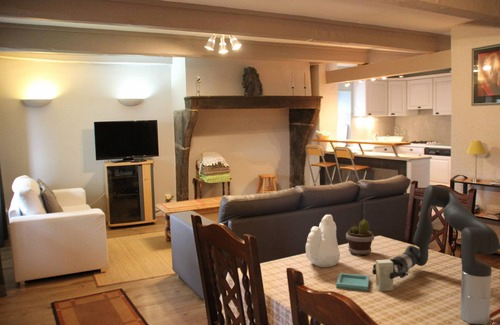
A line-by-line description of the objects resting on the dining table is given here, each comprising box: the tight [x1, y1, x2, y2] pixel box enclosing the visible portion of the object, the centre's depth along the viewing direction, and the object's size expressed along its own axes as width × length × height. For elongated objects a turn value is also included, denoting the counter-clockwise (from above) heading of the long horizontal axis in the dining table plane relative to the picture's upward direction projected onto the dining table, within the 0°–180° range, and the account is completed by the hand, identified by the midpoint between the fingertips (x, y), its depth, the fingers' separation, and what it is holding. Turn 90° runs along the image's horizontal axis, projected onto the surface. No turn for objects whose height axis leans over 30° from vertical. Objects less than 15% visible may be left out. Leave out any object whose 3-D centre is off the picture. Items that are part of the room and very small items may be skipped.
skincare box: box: [375, 258, 394, 292], centre depth 178 cm, size 6×4×12 cm
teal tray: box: [335, 272, 370, 292], centre depth 184 cm, size 13×13×2 cm
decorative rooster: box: [305, 214, 341, 268], centre depth 207 cm, size 25×16×25 cm, turn 130°
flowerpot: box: [345, 218, 375, 256], centre depth 226 cm, size 14×15×20 cm
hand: (381, 274), depth 176 cm, fingers closed on skincare box, 7 cm apart
